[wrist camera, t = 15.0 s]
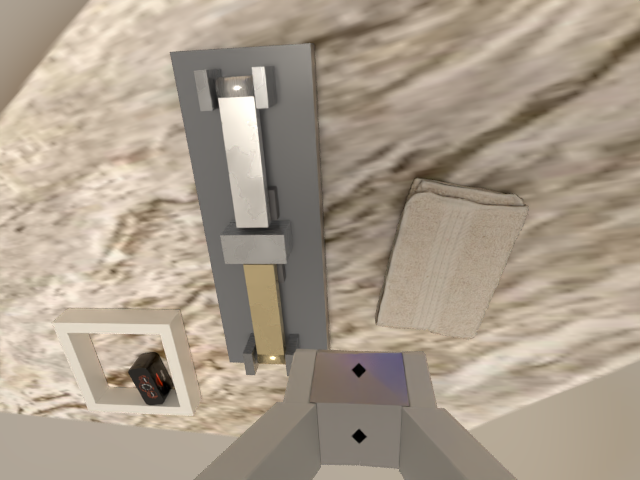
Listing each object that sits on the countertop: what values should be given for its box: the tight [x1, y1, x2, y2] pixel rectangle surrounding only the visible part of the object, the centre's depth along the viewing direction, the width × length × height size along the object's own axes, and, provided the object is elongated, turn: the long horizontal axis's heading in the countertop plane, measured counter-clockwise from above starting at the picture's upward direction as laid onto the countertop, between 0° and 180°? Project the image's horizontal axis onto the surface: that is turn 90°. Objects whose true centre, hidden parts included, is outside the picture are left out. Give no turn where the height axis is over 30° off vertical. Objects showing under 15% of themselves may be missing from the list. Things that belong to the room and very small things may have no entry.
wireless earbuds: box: [128, 353, 177, 405], centre depth 52 cm, size 5×7×3 cm, turn 13°
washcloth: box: [375, 178, 528, 339], centre depth 41 cm, size 12×18×3 cm, turn 173°
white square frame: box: [52, 308, 202, 416], centre depth 51 cm, size 15×15×3 cm
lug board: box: [170, 43, 330, 376], centre depth 39 cm, size 12×34×6 cm, turn 3°
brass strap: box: [243, 264, 286, 364], centre depth 41 cm, size 3×13×2 cm, turn 3°
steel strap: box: [215, 75, 271, 228], centre depth 34 cm, size 3×13×2 cm, turn 3°
